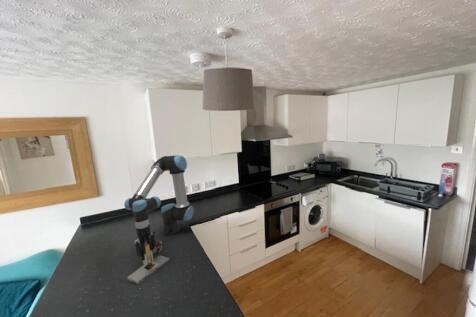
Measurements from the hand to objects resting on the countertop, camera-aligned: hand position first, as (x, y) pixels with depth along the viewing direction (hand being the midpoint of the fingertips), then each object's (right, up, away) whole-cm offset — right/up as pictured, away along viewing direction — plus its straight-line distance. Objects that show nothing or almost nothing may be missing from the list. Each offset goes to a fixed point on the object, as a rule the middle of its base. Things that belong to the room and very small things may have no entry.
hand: (148, 261), depth 121 cm
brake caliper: (-6, -3, +21) cm, 22 cm away
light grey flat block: (-2, -6, -3) cm, 7 cm away
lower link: (+2, -4, +5) cm, 7 cm away
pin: (0, -3, 0) cm, 3 cm away
